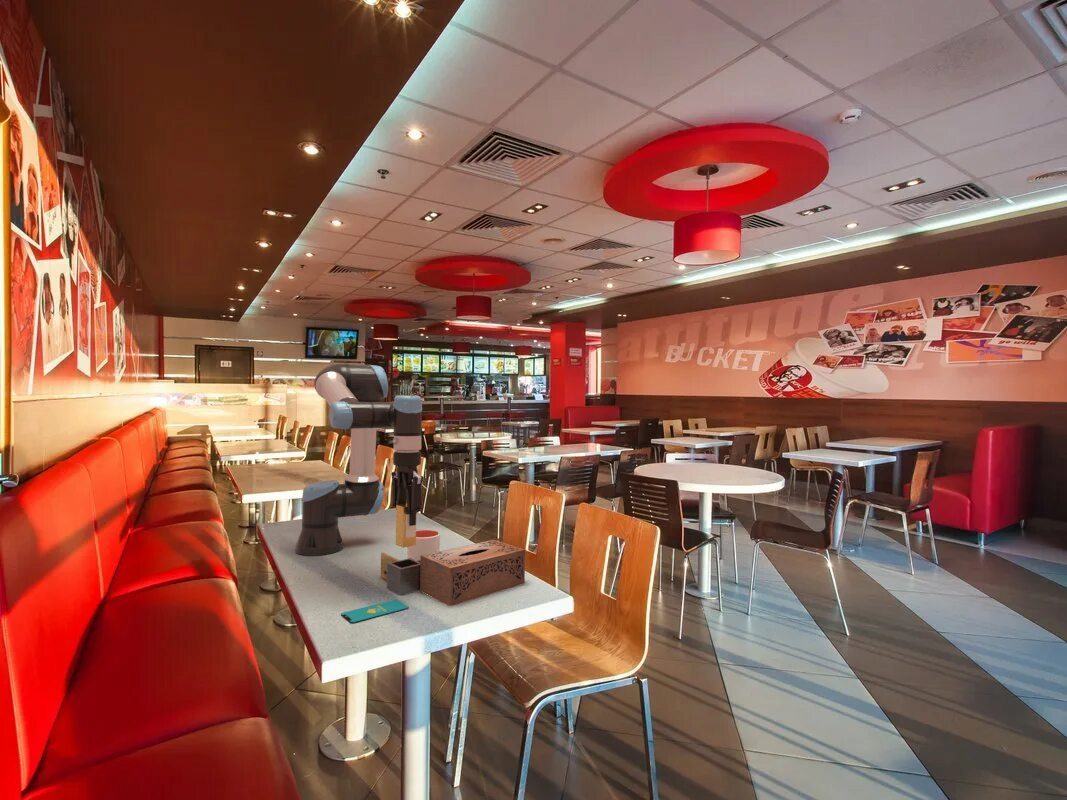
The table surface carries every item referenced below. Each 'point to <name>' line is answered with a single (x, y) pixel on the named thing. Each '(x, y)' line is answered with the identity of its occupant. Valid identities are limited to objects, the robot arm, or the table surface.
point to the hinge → (400, 574)
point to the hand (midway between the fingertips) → (406, 535)
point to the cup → (424, 544)
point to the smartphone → (374, 611)
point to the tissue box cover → (471, 571)
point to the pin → (402, 527)
